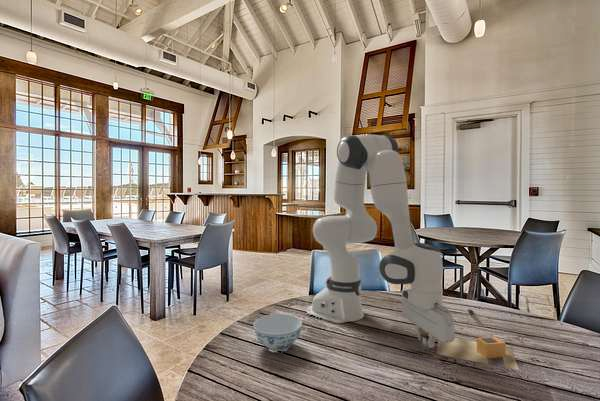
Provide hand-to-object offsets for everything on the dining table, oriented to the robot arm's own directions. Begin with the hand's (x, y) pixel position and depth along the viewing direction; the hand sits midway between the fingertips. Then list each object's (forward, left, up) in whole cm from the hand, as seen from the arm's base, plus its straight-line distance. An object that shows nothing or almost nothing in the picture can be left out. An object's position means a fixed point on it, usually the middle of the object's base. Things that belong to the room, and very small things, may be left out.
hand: (426, 343), depth 97 cm
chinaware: (-42, -16, -3) cm, 45 cm away
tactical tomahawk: (+17, +32, -3) cm, 36 cm away
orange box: (+17, +4, -2) cm, 18 cm away
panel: (+13, +4, -3) cm, 14 cm away
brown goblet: (0, 0, -3) cm, 3 cm away
